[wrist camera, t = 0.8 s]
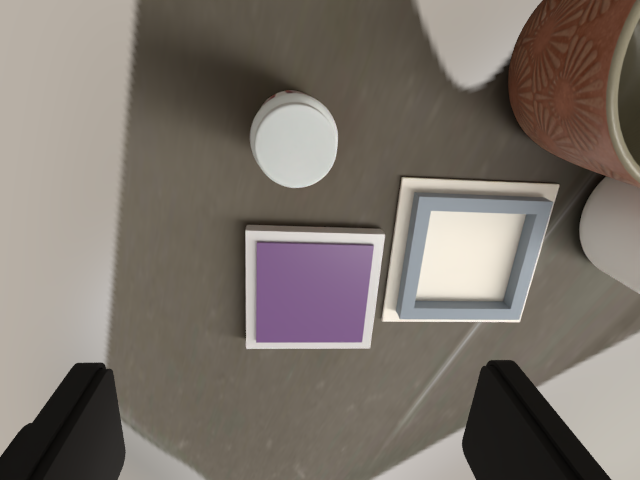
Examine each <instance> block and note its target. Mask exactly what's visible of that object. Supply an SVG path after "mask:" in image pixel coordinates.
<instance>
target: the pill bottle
mask: <svg viewBox="0 0 640 480" xmlns="http://www.w3.org/2000/svg"><path fill="white" fill-rule="evenodd" d="M250 145H251V149H252V153H253V155H254V158H255V160H256V162H257V163H258V165H259V166H260V168H261V169H262V171H263V172H264V173H265V174H266V175H267V176H268V177H269V178H270V179H271V180H273V181H274V182H276V183H278V184H280V185H282V186H285V187H291V188H301V187H306V186H310V185H312V184H314V183H316V182H318V181H319V180H321V179H322V178H323V177H324V176H325V175H326V174H327V173H328V172H329V170H330V169H331V167H332V165H333V163H334V161H335V158H336V153H337V145H338V131H337V127H336V124H335V121H334V119H333V117H332V115H331V113H330V112H329V110H328V109H327V108H326V107H325V106H324V105H323V104H322V103H321V102H320V101H318V100H317V99H315V98H313V97H311V96H309V95H307V94H305V93H302V92H299V91H292V90H288V91H282V92H279V93H276V94H274V95H273V96H271V97H270V98H268V99H267V100H266V101H265V102H264V104H263V105H262V106H261V108H260V109H259V111H258V113H257V114H256V116H255V118H254V120H253V122H252V125H251V130H250Z"/></svg>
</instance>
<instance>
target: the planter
mask: <svg viewBox="0 0 640 480" xmlns="http://www.w3.org/2000/svg"><path fill="white" fill-rule="evenodd" d="M508 90H509V98H510V103H511V106H512V110H513V112H514V115H515V117H516V119H517V121H518V123H519V125H520V126H521V128H522V129H523V131H524V132H525V133H526V134H527V135H528V136H529V137H530V138H531V139H532V140H533V141H534V142H535V143H536V144H538V145H539V146H540V147H542V148H543V149H545V150H546V151H548V152H550V153H552V154H554V155H555V156H557V157H560V158H562V159H564V160H566V161H568V162H570V163H573V164H575V165H578V166H580V167H583V168H585V169H588V170H591V171H593V172H596V173H599V174H602V175H605V176H607V177H610V178H613V179H616V180H619V181H621V182H624V183H627V184H630V185H633V186H636V187H639V188H640V0H543V1H542V2H541V3H540V4H539V5H538V6H537V8H536V9H535V10H534V12H533V13H532V14H531V16H530V17H529V19H528V21H527V22H526V24H525V25H524V27H523V29H522V31H521V33H520V35H519V37H518V39H517V42H516V44H515V47H514V50H513V53H512V57H511V61H510V66H509V74H508Z"/></svg>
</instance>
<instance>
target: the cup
mask: <svg viewBox="0 0 640 480" xmlns="http://www.w3.org/2000/svg"><path fill="white" fill-rule="evenodd" d="M579 236H580V242H581V245H582V248H583V250H584V253H585V255H586V256H587V257H588V259H589V260H590V261H591V262H592V264H593V265H595V266H596V267H597V268H598V269H600V270H601V271H603V272H604V273H606V274H608V275H609V276H611V277H613V278H614V279H616V280H618V281H619V282H621V283H623V284H624V285H626V286H628V287H629V288H631V289H633V290H634V291H636V292H637V293H639V294H640V188H639V187H636V186H633V185H630V184H627V183H624V182H621V181H619V180H616V179H613V178H610V177H607V176H606V177H605V178H604V179H603V180H602V181H601V182H600V183H599V184H598V185H597V186H596V188H595V189H594V190H593V192H592V193H591V195H590V196H589V198H588V200H587V202H586V204H585V206H584V209H583V212H582V215H581V220H580V227H579Z"/></svg>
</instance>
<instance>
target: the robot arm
mask: <svg viewBox="0 0 640 480" xmlns="http://www.w3.org/2000/svg"><path fill="white" fill-rule="evenodd" d="M462 448H463V452H464V455H465V457H466V459H467V462H468V464H469V466H470V468H471V470H472V472H473V474H474V476H475V478H476V480H611V479H610V477H609V476H608V475H607V474H606V473H605V471H604V470H603V469H602V468H601V466H600V465H599V464H598V463H597V462H596V461H595V459H594V458H593V457H592V455H590V453H589V452H588V451H587V449H586V448H585V447H584V446H583V445H582V443H581V442H580V441H579V440H578V439H577V437H576V436H575V435H574V433H573V432H572V431H571V430H570V429H569V427H568V426H567V425H566V424H565V422H564V421H563V420H562V419H561V418H560V416H559V415H558V414H557V413H556V411H555V410H554V409H553V408H552V407H551V406H550V404H549V403H548V402H547V400H546V399H545V398H544V397H543V396H542V394H541V393H540V392H539V391H538V389H537V388H536V387H535V386H534V384H533V383H532V382H531V381H530V380H529V378H528V377H527V376H526V375H525V373H524V372H523V371H522V370H521V369H520V367H519V366H518V365H517V364H516V363H515V362H514V361H512V360H491V361H489V362H488V363H487V365H486V366H483V367H482V369H481V371H480V375H479V379H478V383H477V386H476V390H475V394H474V398H473V402H472V405H471V409H470V413H469V417H468V421H467V424H466V428H465V432H464V436H463V440H462ZM124 460H125V444H124V438H123V432H122V425H121V419H120V413H119V406H118V400H117V394H116V387H115V381H114V375H113V371H112V369H106V367H105V365H104V363H76V364H75V365H74V366H73V367H72V368H71V370H70V371H69V372H68V374H67V375H66V377H65V378H64V379H63V381H62V382H61V384H60V385H59V386H58V388H57V389H56V391H55V392H54V393H53V395H52V396H51V397H50V399H49V400H48V402H47V403H46V405H45V406H44V407H43V409H42V410H41V411H40V413H39V414H38V416H37V417H36V418H35V420H34V421H33V423H29V424H27V425H26V426H24V427H23V428H22V429H21V430H20V431H19V432H18V434H17V435H16V436H15V438H14V439H13V441H12V442H11V443H10V444H9V446H8V447H7V449H6V450H5V451H4V453H3V454H2V455H1V457H0V480H118V477H119V475H120V472H121V470H122V467H123V464H124Z"/></svg>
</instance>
